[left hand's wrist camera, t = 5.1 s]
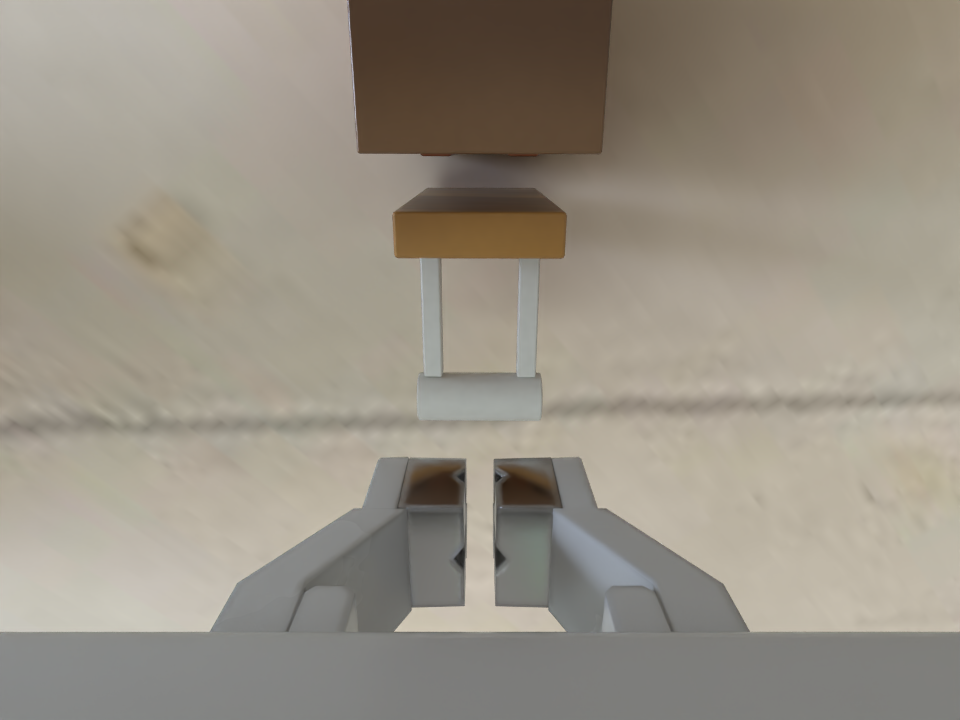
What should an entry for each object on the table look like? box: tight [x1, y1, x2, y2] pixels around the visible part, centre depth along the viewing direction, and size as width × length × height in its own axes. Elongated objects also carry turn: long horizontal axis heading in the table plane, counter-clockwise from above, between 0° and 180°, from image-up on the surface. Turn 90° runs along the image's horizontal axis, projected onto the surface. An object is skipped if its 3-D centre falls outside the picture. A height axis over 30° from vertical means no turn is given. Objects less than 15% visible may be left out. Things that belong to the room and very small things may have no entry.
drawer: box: [392, 154, 567, 421], centre depth 18 cm, size 22×4×9 cm, turn 0°
